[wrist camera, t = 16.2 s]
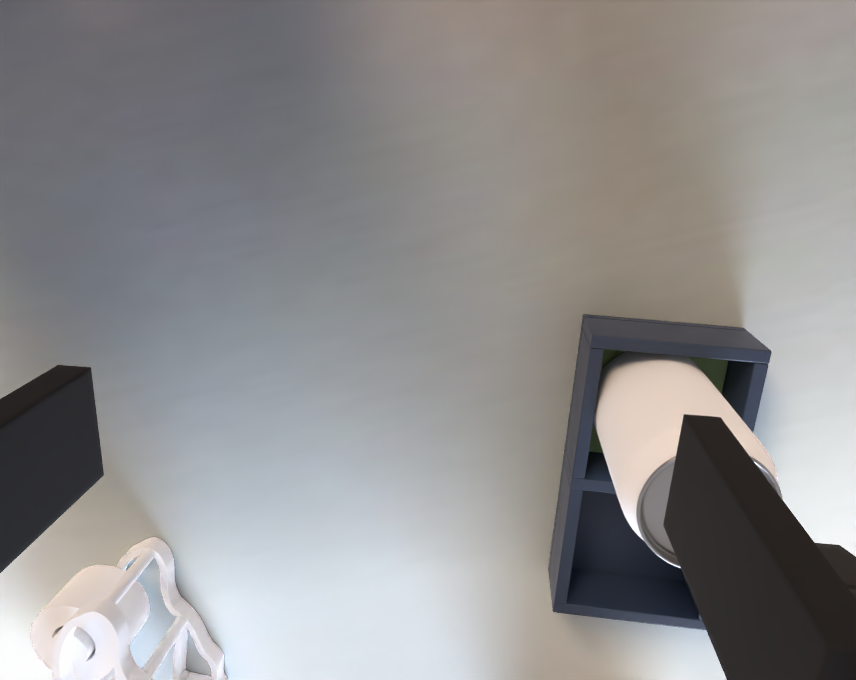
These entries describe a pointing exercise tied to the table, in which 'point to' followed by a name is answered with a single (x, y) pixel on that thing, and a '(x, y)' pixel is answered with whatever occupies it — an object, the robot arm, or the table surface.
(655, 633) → the table surface
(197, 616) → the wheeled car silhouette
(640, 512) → the can
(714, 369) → the tray
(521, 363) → the table surface
